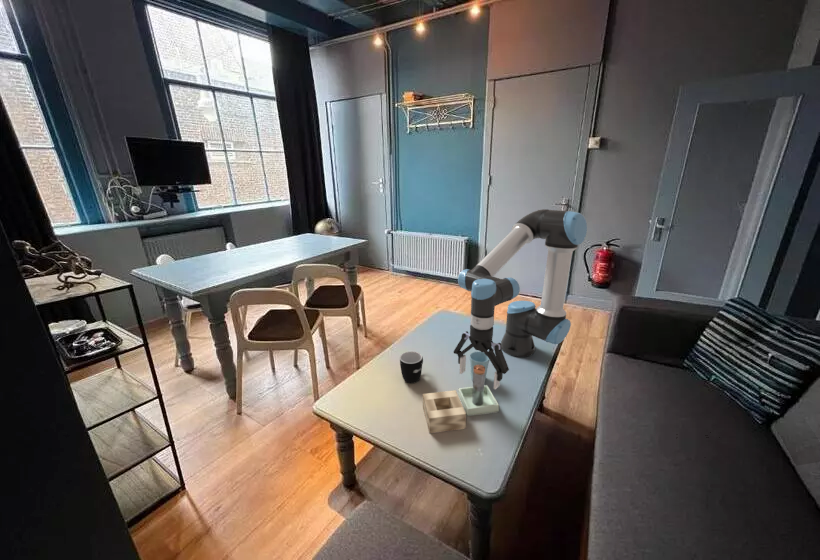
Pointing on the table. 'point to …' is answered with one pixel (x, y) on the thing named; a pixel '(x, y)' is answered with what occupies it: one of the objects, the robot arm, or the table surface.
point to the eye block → (443, 411)
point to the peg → (478, 385)
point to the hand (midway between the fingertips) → (478, 379)
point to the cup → (478, 361)
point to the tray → (471, 409)
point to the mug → (411, 366)
